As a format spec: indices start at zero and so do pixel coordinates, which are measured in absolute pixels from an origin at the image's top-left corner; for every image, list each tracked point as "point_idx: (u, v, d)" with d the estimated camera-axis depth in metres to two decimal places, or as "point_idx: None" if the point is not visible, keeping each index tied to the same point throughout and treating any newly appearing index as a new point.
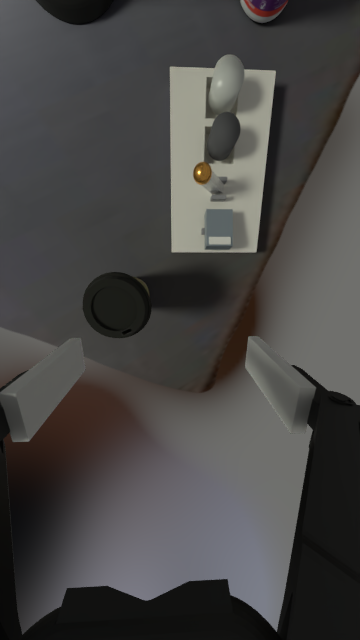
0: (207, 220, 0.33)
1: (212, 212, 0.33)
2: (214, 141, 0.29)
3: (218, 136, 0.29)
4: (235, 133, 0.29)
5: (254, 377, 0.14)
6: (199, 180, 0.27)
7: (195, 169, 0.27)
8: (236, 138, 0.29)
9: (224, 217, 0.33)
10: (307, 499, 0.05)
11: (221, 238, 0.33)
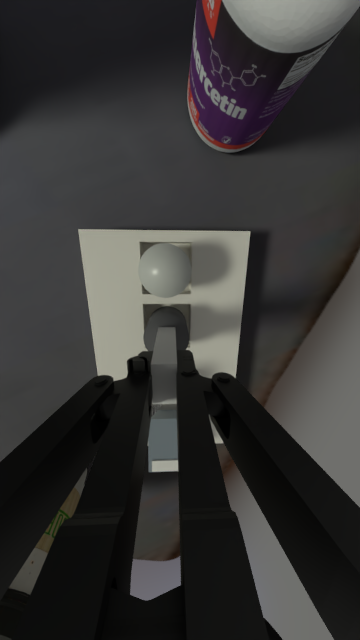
0: (149, 435, 0.22)
1: (157, 423, 0.22)
2: None
3: None
4: (181, 342, 0.18)
5: None
6: None
7: None
8: (183, 347, 0.18)
9: (175, 430, 0.22)
10: (180, 473, 0.06)
11: (170, 462, 0.22)
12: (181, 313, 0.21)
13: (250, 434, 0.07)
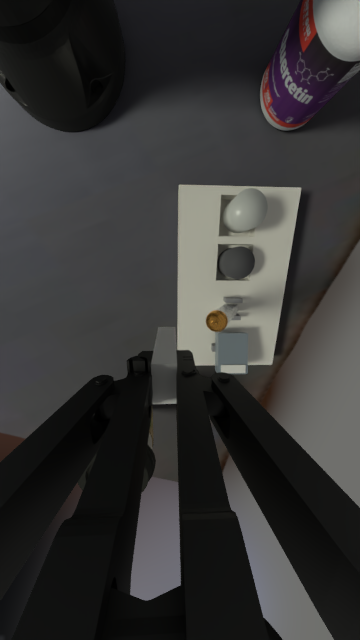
0: (219, 346, 0.29)
1: (225, 337, 0.29)
2: (225, 273, 0.27)
3: (230, 269, 0.26)
4: (249, 266, 0.26)
5: None
6: (213, 331, 0.23)
7: (209, 321, 0.23)
8: (250, 270, 0.27)
9: (238, 342, 0.29)
10: (180, 473, 0.06)
11: (234, 366, 0.29)
12: None
13: (250, 434, 0.07)
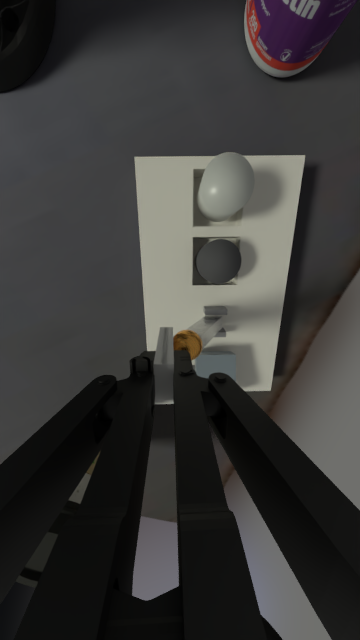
0: (197, 371, 0.22)
1: (205, 359, 0.22)
2: (202, 276, 0.20)
3: (208, 270, 0.19)
4: (233, 265, 0.19)
5: None
6: None
7: (174, 346, 0.16)
8: (235, 272, 0.19)
9: (223, 366, 0.22)
10: (178, 473, 0.06)
11: None
12: None
13: (247, 434, 0.07)
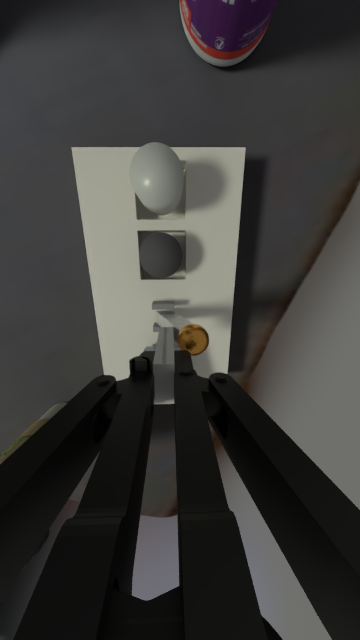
0: None
1: None
2: (145, 270, 0.20)
3: (150, 264, 0.19)
4: (175, 259, 0.19)
5: None
6: (196, 355, 0.16)
7: (193, 343, 0.15)
8: (177, 266, 0.19)
9: None
10: (178, 473, 0.06)
11: None
12: None
13: (248, 434, 0.07)
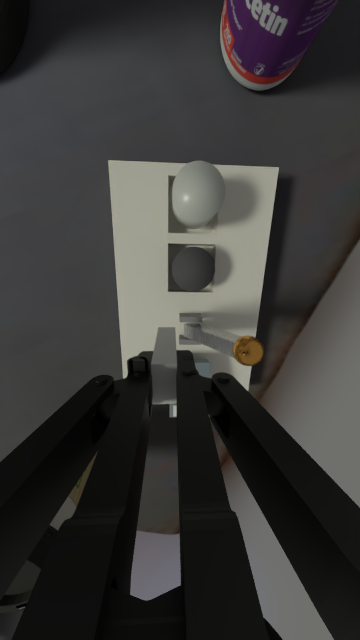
0: None
1: None
2: None
3: (182, 277, 0.19)
4: (207, 273, 0.19)
5: None
6: None
7: (256, 354, 0.16)
8: (209, 279, 0.19)
9: None
10: (180, 473, 0.06)
11: None
12: None
13: (250, 434, 0.07)
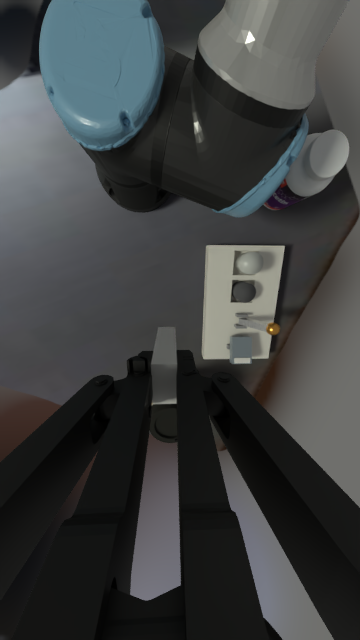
0: (233, 345, 0.44)
1: (236, 339, 0.44)
2: (237, 299, 0.42)
3: (240, 296, 0.42)
4: (252, 294, 0.42)
5: None
6: (275, 334, 0.39)
7: (277, 329, 0.38)
8: (253, 297, 0.42)
9: (245, 343, 0.44)
10: (180, 473, 0.06)
11: (243, 358, 0.44)
12: None
13: (250, 434, 0.07)
